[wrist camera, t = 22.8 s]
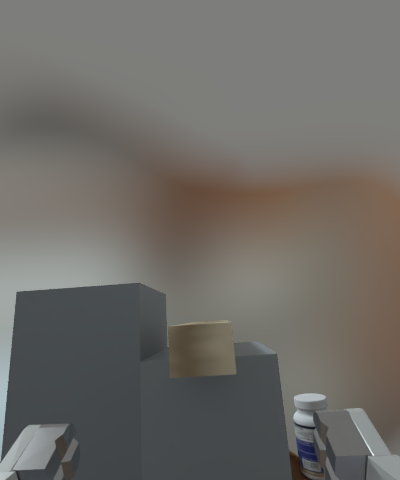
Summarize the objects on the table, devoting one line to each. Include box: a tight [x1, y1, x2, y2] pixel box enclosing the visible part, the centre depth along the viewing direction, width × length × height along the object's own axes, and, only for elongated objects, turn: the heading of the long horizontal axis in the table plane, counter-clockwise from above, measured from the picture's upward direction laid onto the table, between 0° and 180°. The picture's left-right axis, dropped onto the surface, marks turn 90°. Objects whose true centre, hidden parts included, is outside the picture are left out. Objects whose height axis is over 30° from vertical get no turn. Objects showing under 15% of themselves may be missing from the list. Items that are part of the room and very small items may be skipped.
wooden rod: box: [168, 320, 236, 378], centre depth 30 cm, size 4×24×3 cm, turn 176°
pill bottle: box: [294, 394, 328, 480], centre depth 44 cm, size 6×6×10 cm
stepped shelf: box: [1, 283, 292, 480], centre depth 32 cm, size 24×14×26 cm, turn 86°
